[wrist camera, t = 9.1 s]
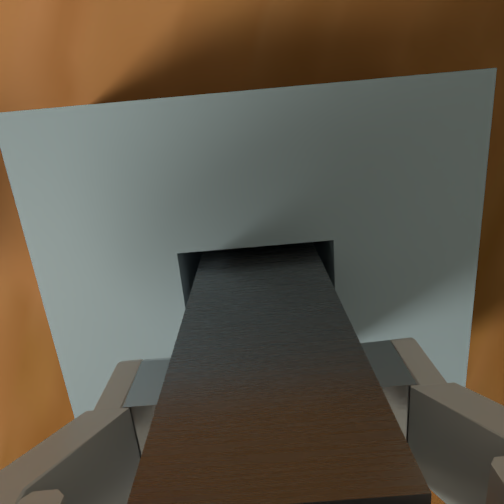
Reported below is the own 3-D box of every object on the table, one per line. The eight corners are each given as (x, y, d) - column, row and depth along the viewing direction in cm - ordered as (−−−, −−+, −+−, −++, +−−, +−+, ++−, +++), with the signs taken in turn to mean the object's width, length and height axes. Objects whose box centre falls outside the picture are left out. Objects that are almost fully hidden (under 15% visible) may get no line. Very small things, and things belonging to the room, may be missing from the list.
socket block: (395, 359, 19) (457, 464, 14) (138, 380, 20) (95, 492, 14) (405, 81, 15) (496, 67, 10) (82, 110, 16) (-10, 113, 10)
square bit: (313, 327, 14) (416, 680, 5) (216, 335, 14) (169, 696, 5) (309, 235, 13) (430, 494, 4) (205, 244, 13) (123, 515, 4)
